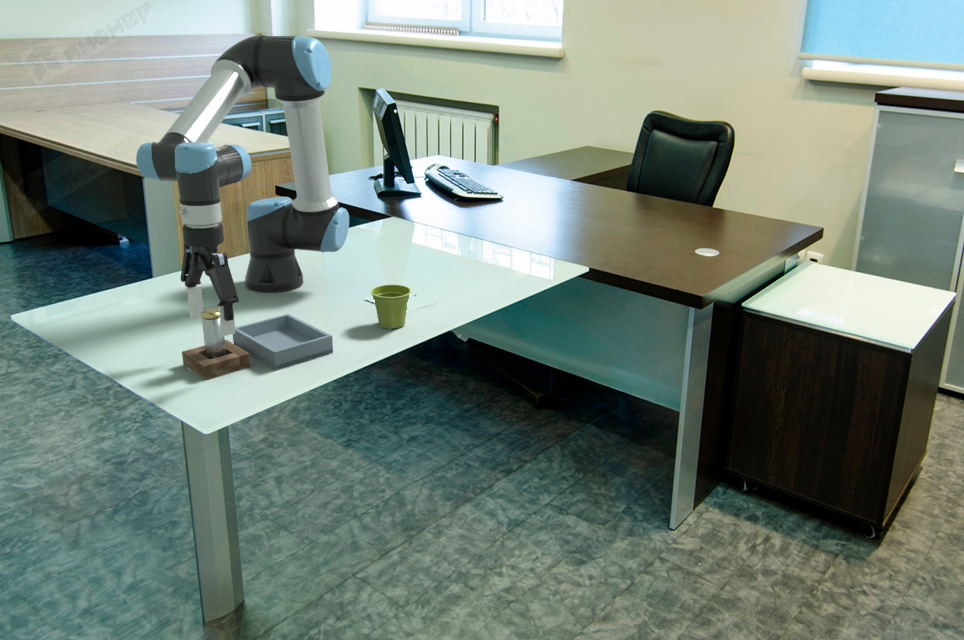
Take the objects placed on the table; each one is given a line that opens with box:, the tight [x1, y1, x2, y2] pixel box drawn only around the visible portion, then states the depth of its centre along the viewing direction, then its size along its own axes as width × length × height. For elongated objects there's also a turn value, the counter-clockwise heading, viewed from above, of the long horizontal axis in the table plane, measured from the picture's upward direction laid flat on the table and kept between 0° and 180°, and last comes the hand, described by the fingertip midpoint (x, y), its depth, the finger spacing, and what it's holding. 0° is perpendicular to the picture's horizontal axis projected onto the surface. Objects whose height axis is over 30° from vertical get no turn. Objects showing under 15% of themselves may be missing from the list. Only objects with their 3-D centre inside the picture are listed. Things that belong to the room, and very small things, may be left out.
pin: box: [201, 308, 226, 359], centre depth 168 cm, size 4×4×12 cm
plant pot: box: [370, 283, 412, 329], centre depth 193 cm, size 9×9×9 cm
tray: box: [232, 313, 334, 371], centre depth 179 cm, size 14×18×4 cm
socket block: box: [181, 339, 252, 381], centre depth 170 cm, size 10×10×3 cm
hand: (212, 325), depth 167 cm, fingers open, 13 cm apart
